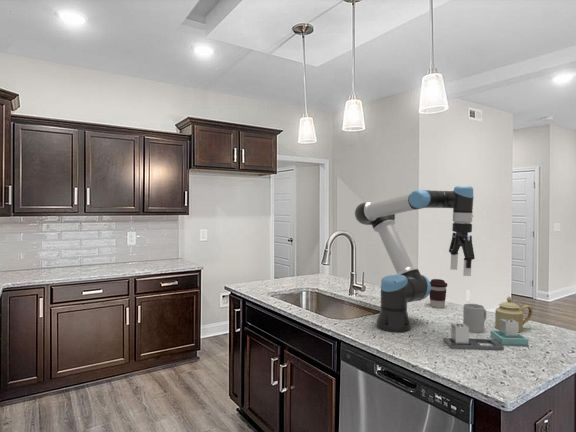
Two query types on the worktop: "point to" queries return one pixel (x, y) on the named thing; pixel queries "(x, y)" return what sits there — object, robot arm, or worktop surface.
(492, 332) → the parts tray
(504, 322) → the steel cube with knob
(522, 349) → the worktop surface
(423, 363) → the worktop surface
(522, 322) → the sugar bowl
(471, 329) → the mug
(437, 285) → the coffee cup
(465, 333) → the light gray block
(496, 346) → the grey slotted plate
